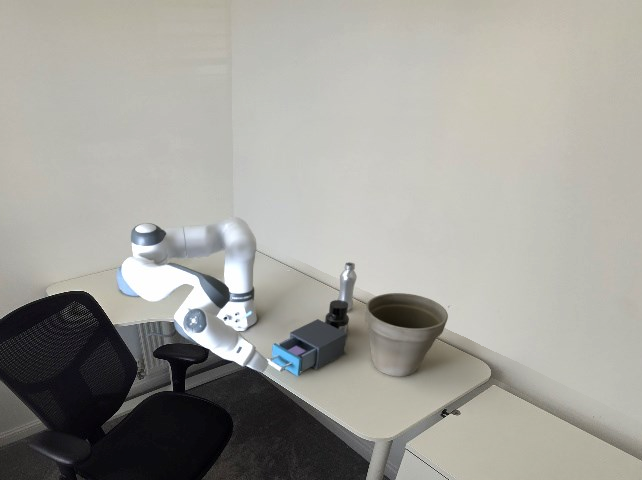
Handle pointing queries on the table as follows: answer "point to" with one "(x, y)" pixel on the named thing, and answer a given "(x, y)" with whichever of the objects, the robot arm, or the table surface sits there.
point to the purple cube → (297, 351)
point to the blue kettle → (124, 284)
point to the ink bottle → (338, 315)
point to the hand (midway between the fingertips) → (252, 359)
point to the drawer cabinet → (322, 340)
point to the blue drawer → (292, 356)
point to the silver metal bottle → (347, 284)
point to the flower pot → (402, 330)
